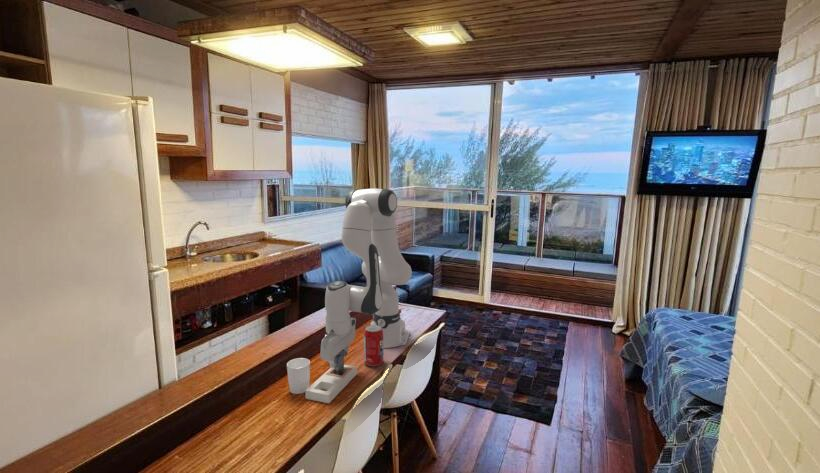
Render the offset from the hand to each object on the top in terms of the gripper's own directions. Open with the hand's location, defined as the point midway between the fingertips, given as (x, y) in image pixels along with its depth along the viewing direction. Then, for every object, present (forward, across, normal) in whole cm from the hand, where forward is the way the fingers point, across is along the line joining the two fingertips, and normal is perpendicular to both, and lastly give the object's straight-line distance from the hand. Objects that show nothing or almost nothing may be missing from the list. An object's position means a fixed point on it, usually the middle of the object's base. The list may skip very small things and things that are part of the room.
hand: (338, 361), depth 151 cm
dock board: (+7, -5, 0) cm, 9 cm away
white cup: (+7, -11, +10) cm, 17 cm away
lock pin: (+7, 0, 0) cm, 7 cm away
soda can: (+7, +16, -7) cm, 19 cm away
